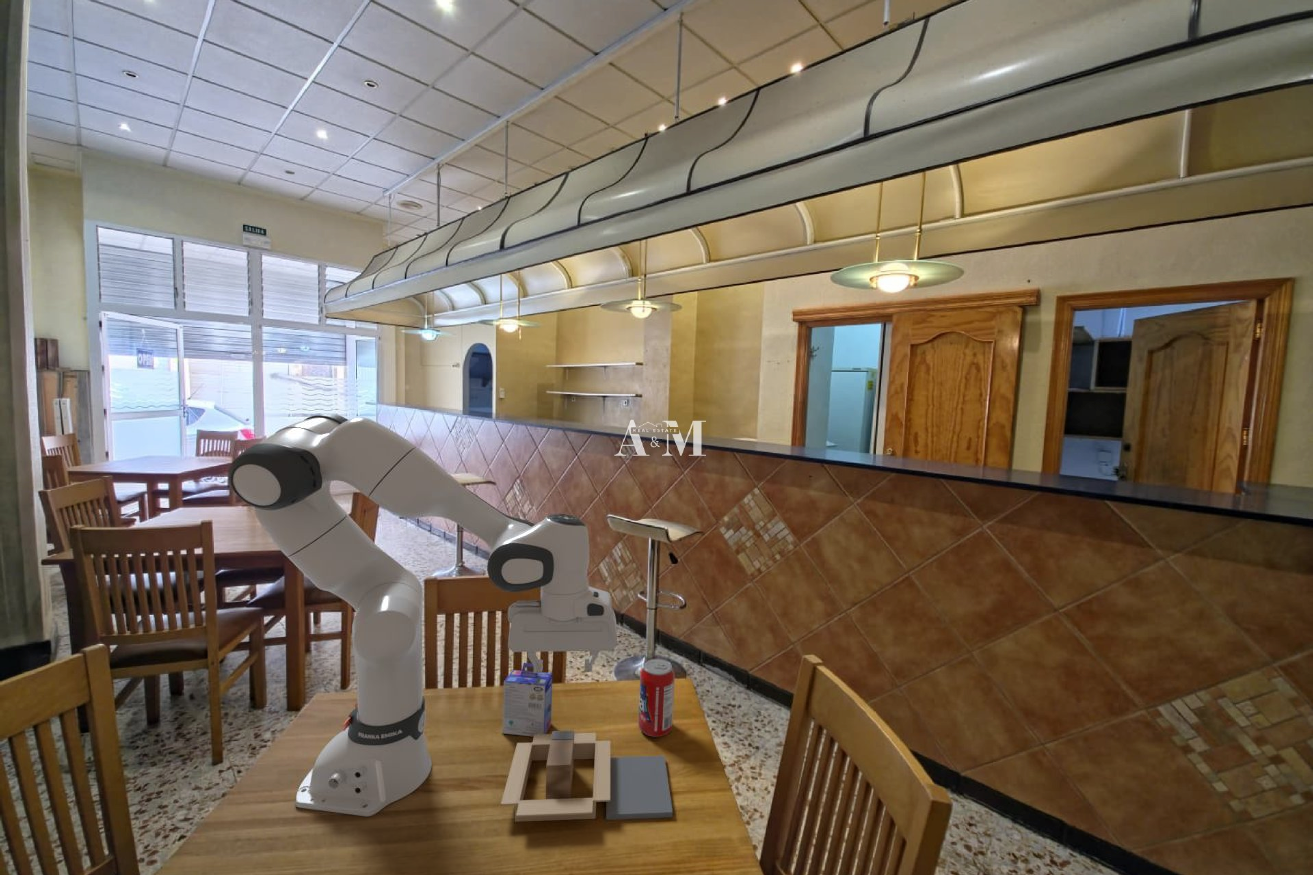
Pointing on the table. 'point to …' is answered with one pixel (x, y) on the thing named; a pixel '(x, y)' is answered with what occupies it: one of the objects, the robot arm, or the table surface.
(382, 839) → the table surface
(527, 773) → the beige hollow square frame
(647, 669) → the soda can
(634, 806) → the mat
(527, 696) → the ink cartridge box
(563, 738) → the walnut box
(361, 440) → the robot arm
